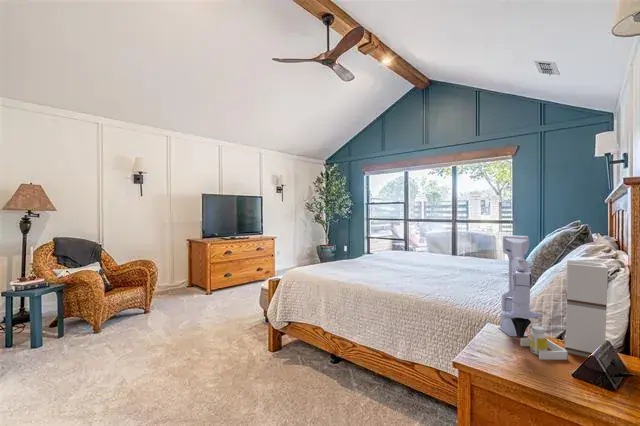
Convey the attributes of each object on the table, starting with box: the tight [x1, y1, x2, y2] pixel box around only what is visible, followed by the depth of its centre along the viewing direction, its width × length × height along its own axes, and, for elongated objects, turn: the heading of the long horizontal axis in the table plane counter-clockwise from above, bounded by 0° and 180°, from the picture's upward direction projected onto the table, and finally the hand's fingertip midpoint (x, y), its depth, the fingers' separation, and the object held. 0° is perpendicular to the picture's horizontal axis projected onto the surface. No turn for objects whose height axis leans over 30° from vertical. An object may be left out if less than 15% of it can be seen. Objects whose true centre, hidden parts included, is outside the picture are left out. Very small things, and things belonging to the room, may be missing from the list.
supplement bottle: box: [529, 325, 548, 356], centre depth 121 cm, size 5×5×10 cm
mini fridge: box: [563, 259, 609, 358], centre depth 122 cm, size 11×11×35 cm
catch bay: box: [519, 337, 569, 361], centre depth 121 cm, size 11×11×3 cm
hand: (519, 336), depth 121 cm, fingers closed
